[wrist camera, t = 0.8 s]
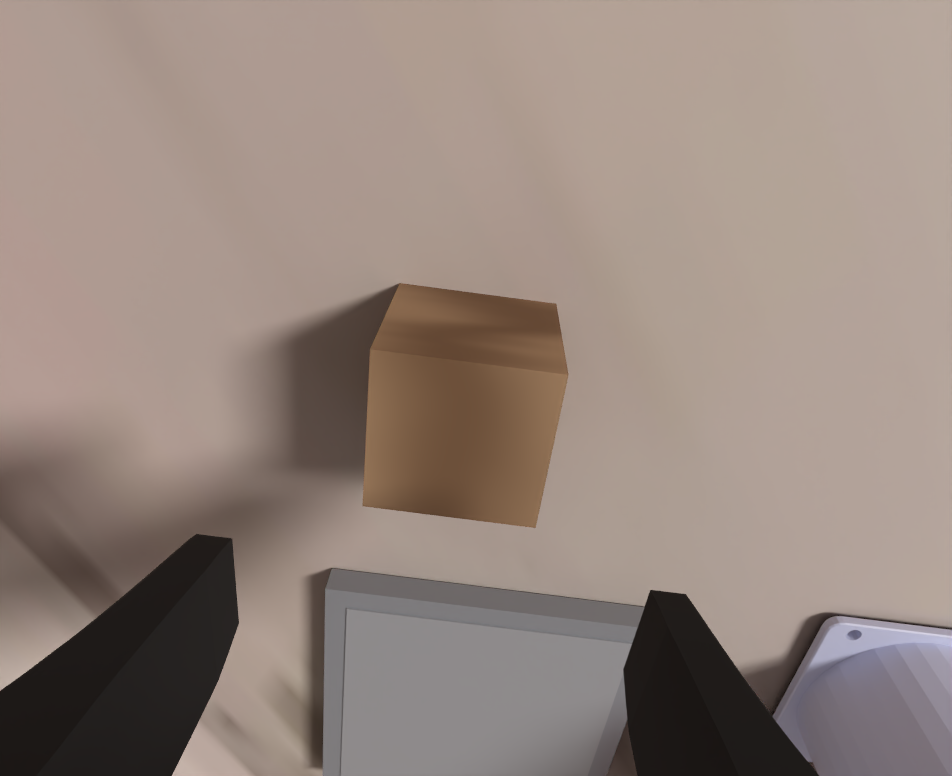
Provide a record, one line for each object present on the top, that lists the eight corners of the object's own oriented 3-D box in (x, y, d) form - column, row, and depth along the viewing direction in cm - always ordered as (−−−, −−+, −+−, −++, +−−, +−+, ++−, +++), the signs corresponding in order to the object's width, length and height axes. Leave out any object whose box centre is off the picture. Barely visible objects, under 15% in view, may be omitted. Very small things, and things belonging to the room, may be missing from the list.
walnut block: (555, 303, 19) (568, 375, 15) (530, 434, 21) (535, 527, 17) (399, 282, 18) (369, 349, 15) (390, 416, 21) (362, 506, 17)
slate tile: (655, 608, 24) (661, 631, 23) (588, 793, 30) (591, 818, 29) (332, 568, 24) (324, 590, 23) (328, 762, 29) (322, 786, 28)
